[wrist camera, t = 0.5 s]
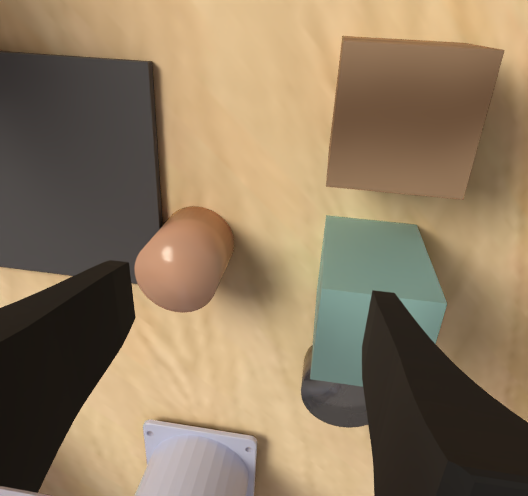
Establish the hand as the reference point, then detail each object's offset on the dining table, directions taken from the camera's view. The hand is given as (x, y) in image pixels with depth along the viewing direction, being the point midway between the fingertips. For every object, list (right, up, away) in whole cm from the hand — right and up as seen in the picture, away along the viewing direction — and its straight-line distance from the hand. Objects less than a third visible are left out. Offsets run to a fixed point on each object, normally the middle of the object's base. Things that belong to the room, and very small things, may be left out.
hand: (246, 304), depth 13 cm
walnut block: (+6, +8, +7) cm, 12 cm away
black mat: (-11, +6, +11) cm, 16 cm away
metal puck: (+5, -6, +14) cm, 16 cm away
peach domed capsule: (-3, +2, +11) cm, 12 cm away
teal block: (+6, +1, +10) cm, 12 cm away
